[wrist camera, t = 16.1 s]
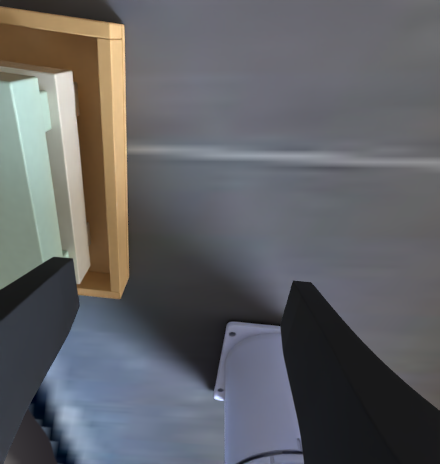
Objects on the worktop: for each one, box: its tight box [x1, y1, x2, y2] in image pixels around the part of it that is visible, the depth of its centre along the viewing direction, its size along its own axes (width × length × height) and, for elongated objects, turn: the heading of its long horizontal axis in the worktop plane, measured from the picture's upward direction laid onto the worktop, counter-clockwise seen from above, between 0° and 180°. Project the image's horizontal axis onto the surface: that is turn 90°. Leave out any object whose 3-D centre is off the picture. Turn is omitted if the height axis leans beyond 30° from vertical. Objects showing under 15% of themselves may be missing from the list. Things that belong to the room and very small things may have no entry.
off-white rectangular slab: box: [0, 60, 91, 284], centre depth 17 cm, size 11×5×3 cm, turn 173°
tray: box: [0, 6, 129, 299], centre depth 18 cm, size 15×9×2 cm, turn 173°
